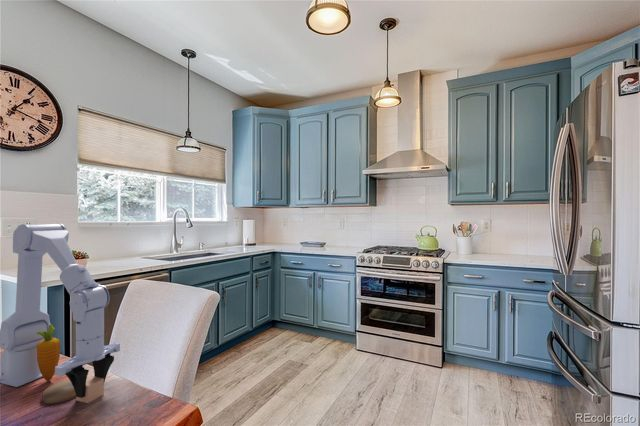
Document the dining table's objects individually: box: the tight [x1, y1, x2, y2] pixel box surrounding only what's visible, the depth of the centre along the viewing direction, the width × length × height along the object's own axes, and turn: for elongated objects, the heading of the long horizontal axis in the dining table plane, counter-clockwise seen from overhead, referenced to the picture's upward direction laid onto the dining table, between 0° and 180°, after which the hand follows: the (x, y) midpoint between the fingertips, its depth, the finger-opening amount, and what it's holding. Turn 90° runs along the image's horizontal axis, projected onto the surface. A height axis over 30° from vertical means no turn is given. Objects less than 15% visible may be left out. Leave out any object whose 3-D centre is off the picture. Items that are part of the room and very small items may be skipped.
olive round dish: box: [42, 379, 76, 404], centre depth 80 cm, size 8×8×2 cm
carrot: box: [37, 324, 61, 382], centre depth 87 cm, size 5×5×15 cm
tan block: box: [75, 375, 105, 404], centre depth 78 cm, size 4×4×4 cm
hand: (90, 391), depth 78 cm, fingers closed on tan block, 4 cm apart
